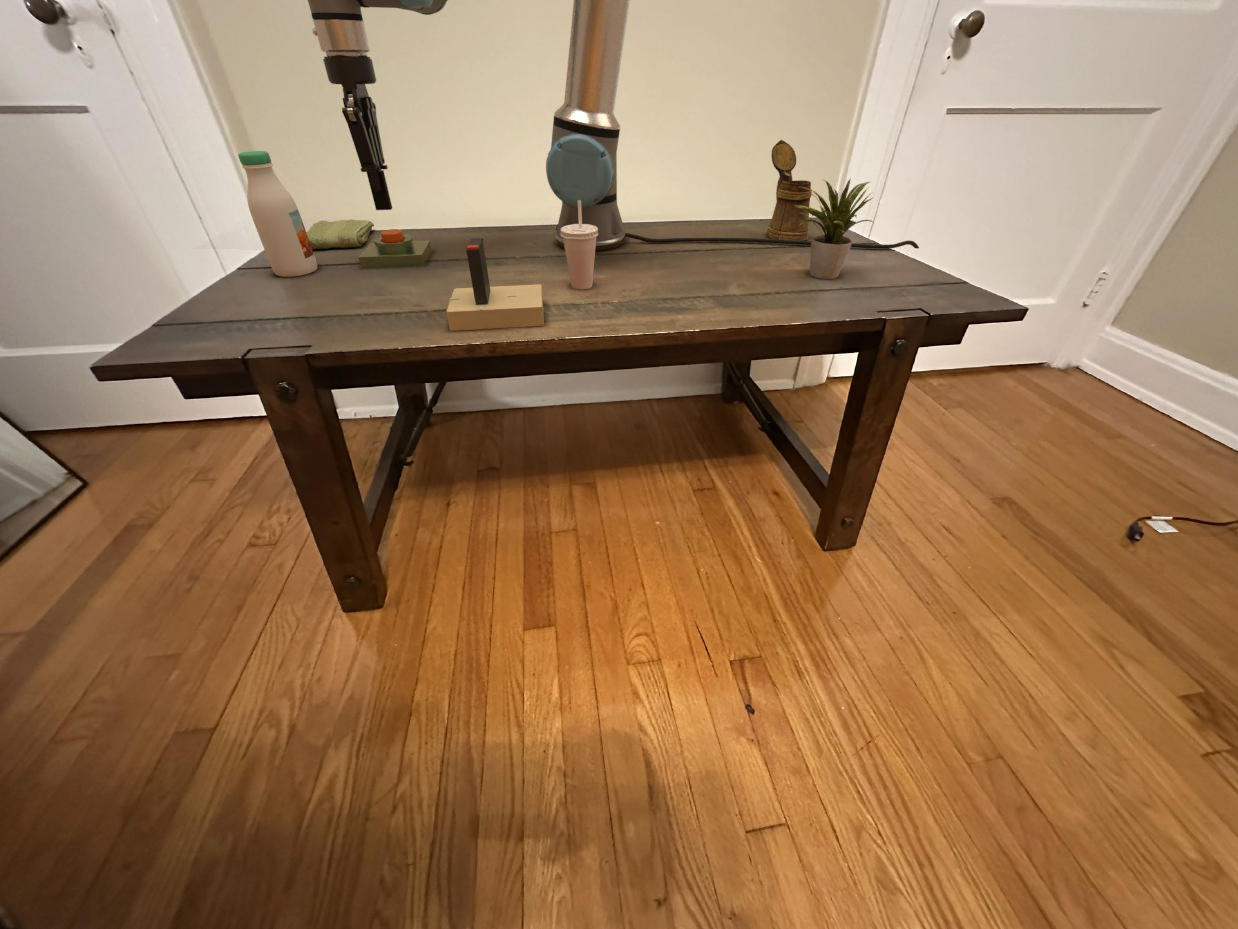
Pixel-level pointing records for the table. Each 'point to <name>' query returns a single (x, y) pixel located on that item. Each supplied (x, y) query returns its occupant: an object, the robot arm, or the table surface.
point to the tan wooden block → (497, 308)
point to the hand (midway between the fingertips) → (384, 209)
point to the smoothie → (580, 251)
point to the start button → (392, 235)
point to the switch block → (395, 253)
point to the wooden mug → (788, 198)
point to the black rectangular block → (478, 270)
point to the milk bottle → (276, 218)
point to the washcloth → (339, 234)
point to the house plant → (833, 230)
